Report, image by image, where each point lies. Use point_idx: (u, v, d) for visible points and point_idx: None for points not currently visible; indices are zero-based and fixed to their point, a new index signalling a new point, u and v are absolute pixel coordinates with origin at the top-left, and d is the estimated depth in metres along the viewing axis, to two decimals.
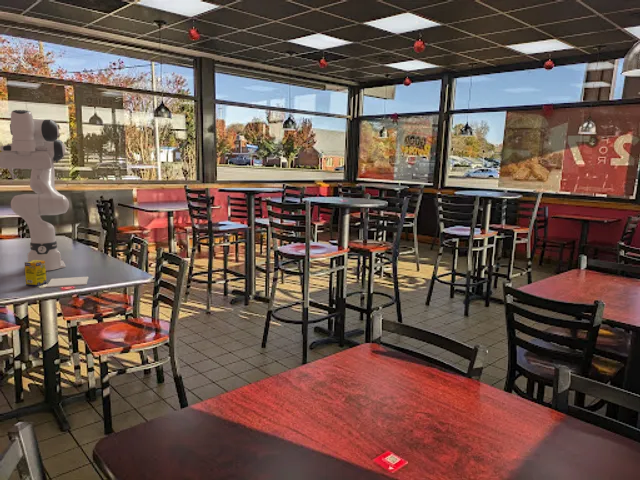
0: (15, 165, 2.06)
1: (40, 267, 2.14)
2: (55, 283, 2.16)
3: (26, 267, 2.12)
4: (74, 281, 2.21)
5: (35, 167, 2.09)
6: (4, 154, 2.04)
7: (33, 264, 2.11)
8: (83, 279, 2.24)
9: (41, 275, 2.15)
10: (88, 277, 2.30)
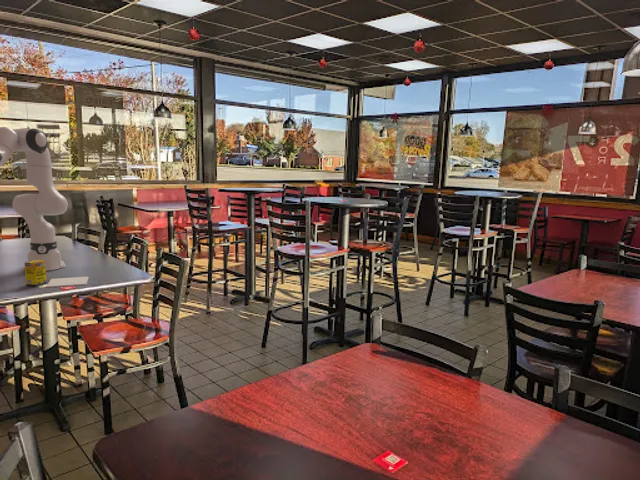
0: None
1: (40, 267, 2.14)
2: (55, 283, 2.16)
3: (26, 267, 2.12)
4: (74, 281, 2.21)
5: None
6: None
7: (33, 264, 2.11)
8: (83, 279, 2.24)
9: (41, 275, 2.15)
10: (88, 277, 2.30)
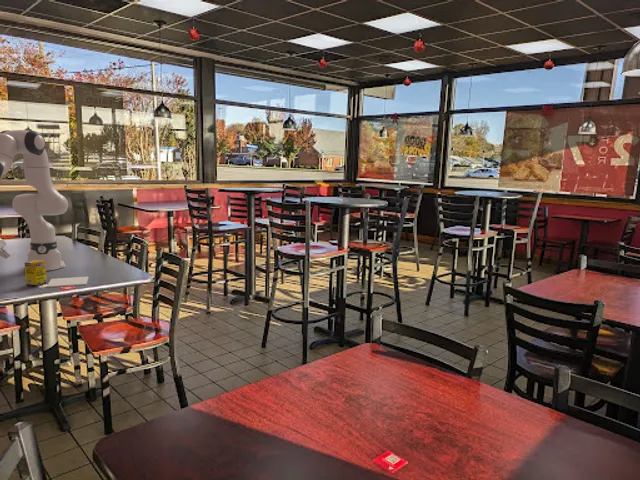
0: None
1: (40, 267, 2.14)
2: (55, 283, 2.16)
3: (26, 267, 2.12)
4: (74, 281, 2.21)
5: None
6: None
7: (33, 264, 2.11)
8: (83, 279, 2.24)
9: (41, 275, 2.15)
10: (88, 277, 2.30)
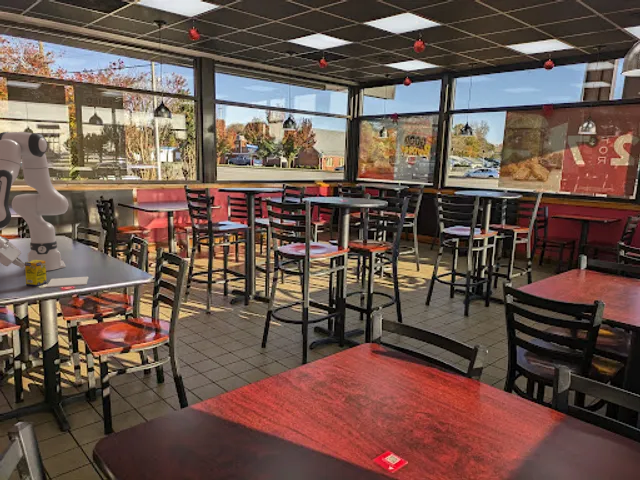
0: None
1: (40, 267, 2.14)
2: (55, 283, 2.16)
3: (26, 267, 2.12)
4: (74, 281, 2.21)
5: None
6: None
7: (33, 264, 2.11)
8: (83, 279, 2.24)
9: (41, 275, 2.15)
10: (88, 277, 2.30)
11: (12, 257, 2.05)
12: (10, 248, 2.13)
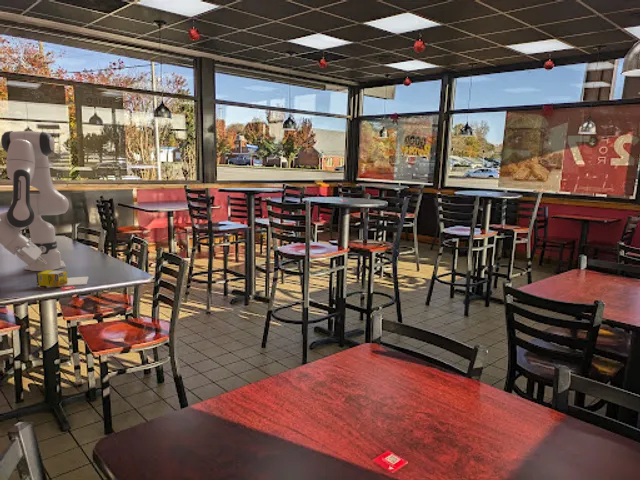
0: None
1: None
2: None
3: (53, 276, 2.10)
4: (74, 281, 2.21)
5: None
6: None
7: (57, 284, 2.11)
8: (83, 279, 2.24)
9: None
10: (88, 277, 2.30)
11: (34, 255, 2.09)
12: (31, 247, 2.16)
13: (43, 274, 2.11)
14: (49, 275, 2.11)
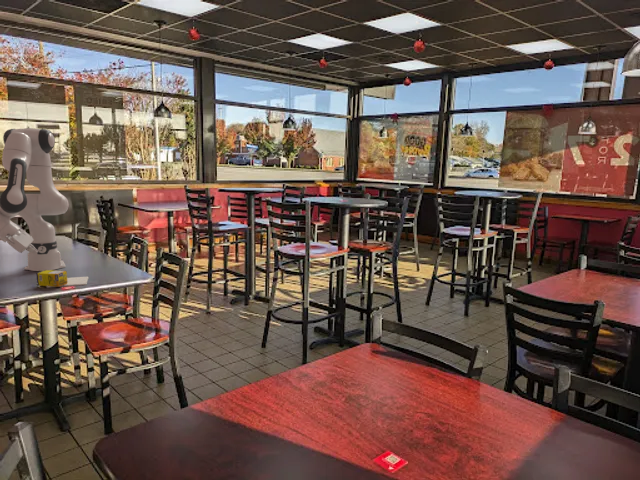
0: None
1: None
2: None
3: (53, 276, 2.10)
4: (74, 281, 2.21)
5: None
6: None
7: (57, 284, 2.11)
8: (83, 279, 2.24)
9: None
10: (88, 277, 2.30)
11: (25, 243, 2.07)
12: (22, 235, 2.14)
13: (43, 274, 2.11)
14: (49, 275, 2.11)
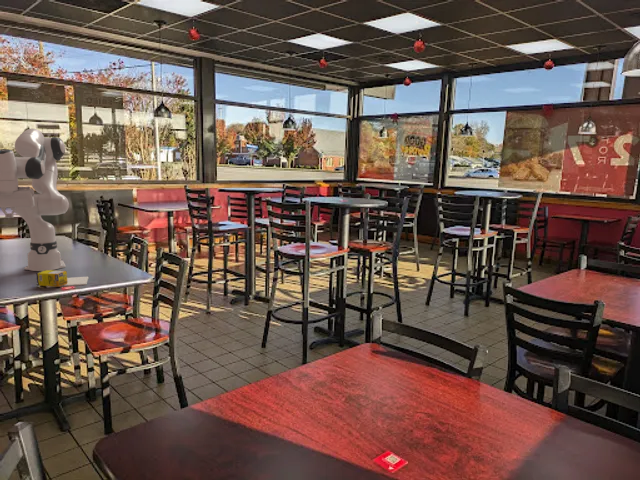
0: None
1: None
2: None
3: (53, 276, 2.10)
4: (74, 281, 2.21)
5: (17, 206, 2.10)
6: None
7: (57, 284, 2.11)
8: (83, 279, 2.24)
9: None
10: (88, 277, 2.30)
11: None
12: None
13: (43, 274, 2.11)
14: (49, 275, 2.11)
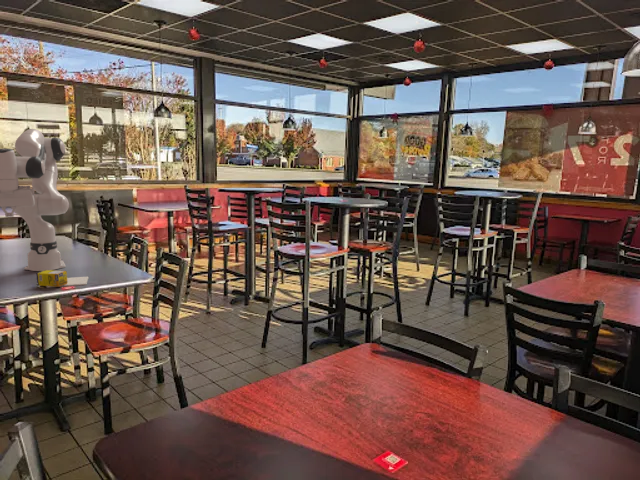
0: None
1: None
2: None
3: (53, 276, 2.10)
4: (74, 281, 2.21)
5: (18, 205, 2.10)
6: None
7: (57, 284, 2.11)
8: (83, 279, 2.24)
9: None
10: (88, 277, 2.30)
11: None
12: None
13: (43, 274, 2.11)
14: (49, 275, 2.11)
